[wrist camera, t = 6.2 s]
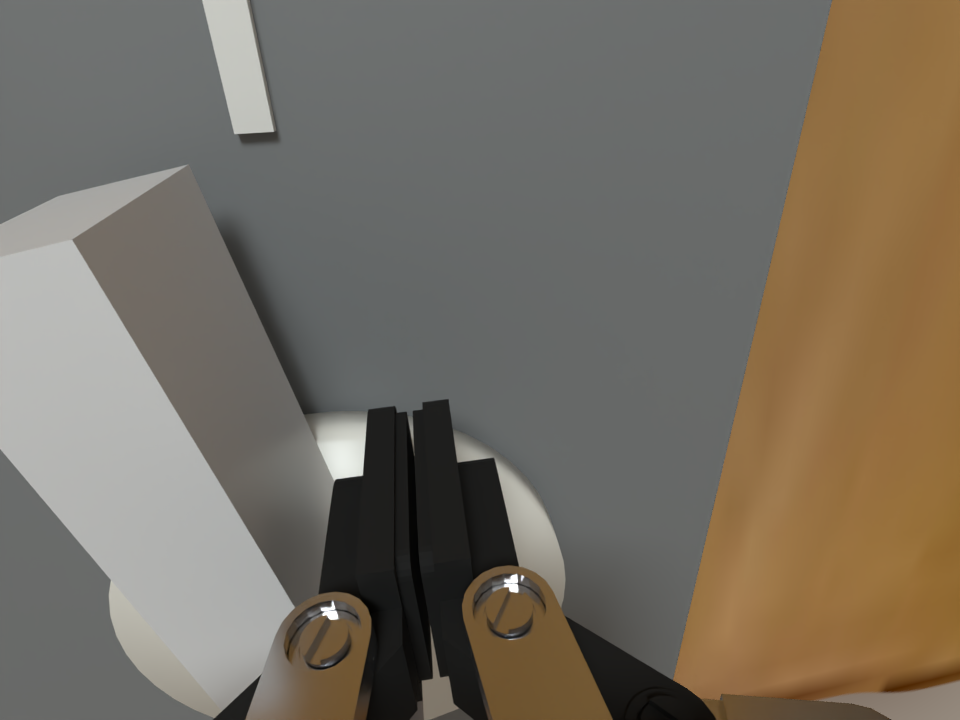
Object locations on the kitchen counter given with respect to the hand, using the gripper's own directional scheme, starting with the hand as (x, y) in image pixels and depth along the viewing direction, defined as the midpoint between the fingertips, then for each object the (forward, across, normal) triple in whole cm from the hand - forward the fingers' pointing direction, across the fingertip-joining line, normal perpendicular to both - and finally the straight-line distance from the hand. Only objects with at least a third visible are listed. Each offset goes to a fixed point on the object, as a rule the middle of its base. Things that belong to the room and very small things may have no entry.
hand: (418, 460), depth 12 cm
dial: (+2, +3, +3) cm, 5 cm away
